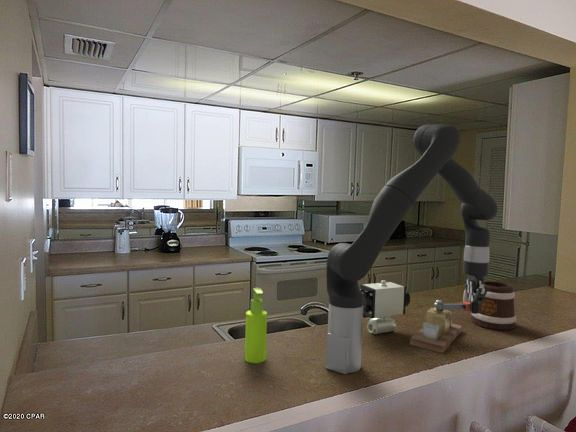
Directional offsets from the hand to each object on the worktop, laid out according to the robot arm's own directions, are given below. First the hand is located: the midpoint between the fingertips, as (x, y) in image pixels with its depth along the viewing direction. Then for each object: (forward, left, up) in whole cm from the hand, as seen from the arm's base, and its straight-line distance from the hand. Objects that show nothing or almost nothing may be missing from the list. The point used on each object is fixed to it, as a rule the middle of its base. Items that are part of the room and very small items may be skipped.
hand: (473, 313), depth 130 cm
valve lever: (-1, +6, 0) cm, 6 cm away
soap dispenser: (-56, +45, -9) cm, 72 cm away
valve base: (-5, +10, -9) cm, 14 cm away
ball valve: (-12, +27, -10) cm, 31 cm away
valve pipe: (-5, +10, -7) cm, 13 cm away
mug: (+24, 0, -10) cm, 26 cm away
